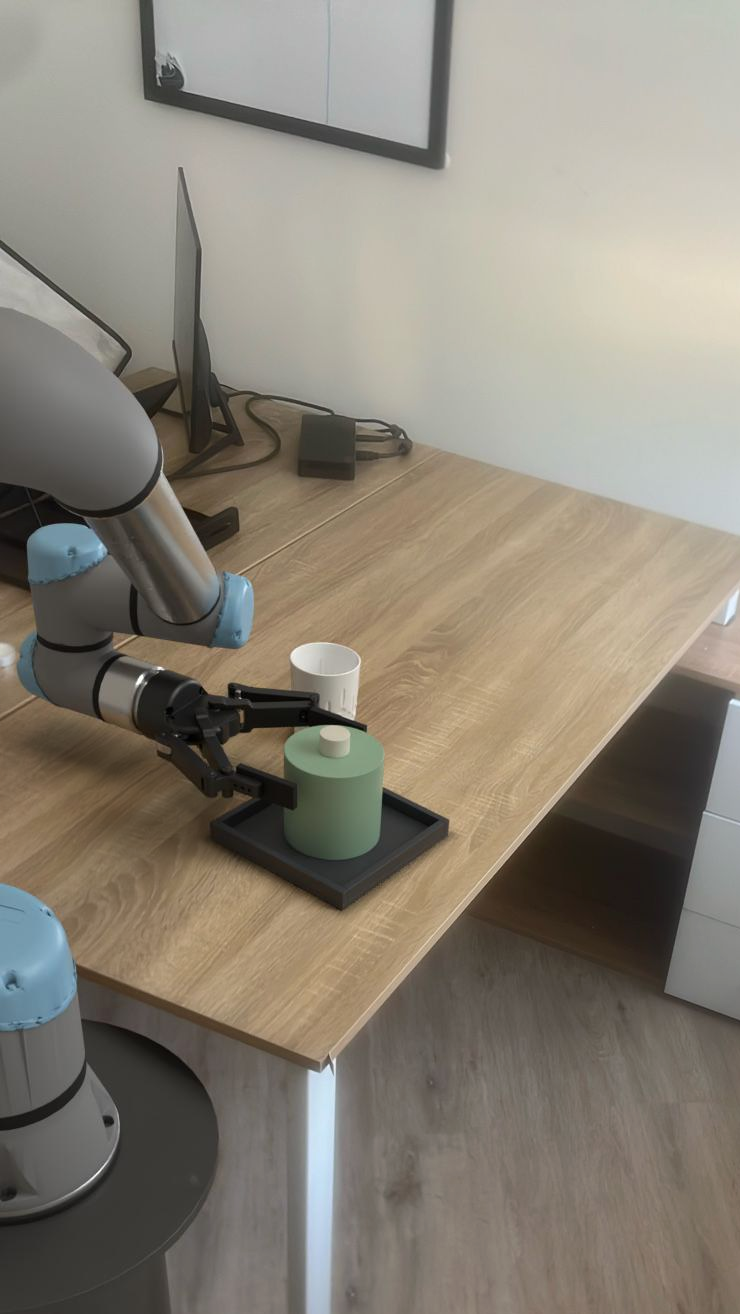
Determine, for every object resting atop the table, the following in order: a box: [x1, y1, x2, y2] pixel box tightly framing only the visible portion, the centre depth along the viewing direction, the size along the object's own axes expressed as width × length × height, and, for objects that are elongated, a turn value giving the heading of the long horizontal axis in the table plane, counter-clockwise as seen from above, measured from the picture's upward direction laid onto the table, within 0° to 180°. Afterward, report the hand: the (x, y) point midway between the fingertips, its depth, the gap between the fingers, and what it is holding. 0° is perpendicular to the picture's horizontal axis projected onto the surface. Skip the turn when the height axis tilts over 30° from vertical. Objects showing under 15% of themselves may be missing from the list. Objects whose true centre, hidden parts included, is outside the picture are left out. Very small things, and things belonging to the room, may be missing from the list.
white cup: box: [289, 641, 362, 734], centre depth 146 cm, size 8×8×10 cm
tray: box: [209, 786, 450, 911], centre depth 134 cm, size 18×18×2 cm
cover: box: [283, 725, 385, 860], centre depth 130 cm, size 10×10×12 cm
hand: (331, 766), depth 129 cm, fingers open, 13 cm apart
